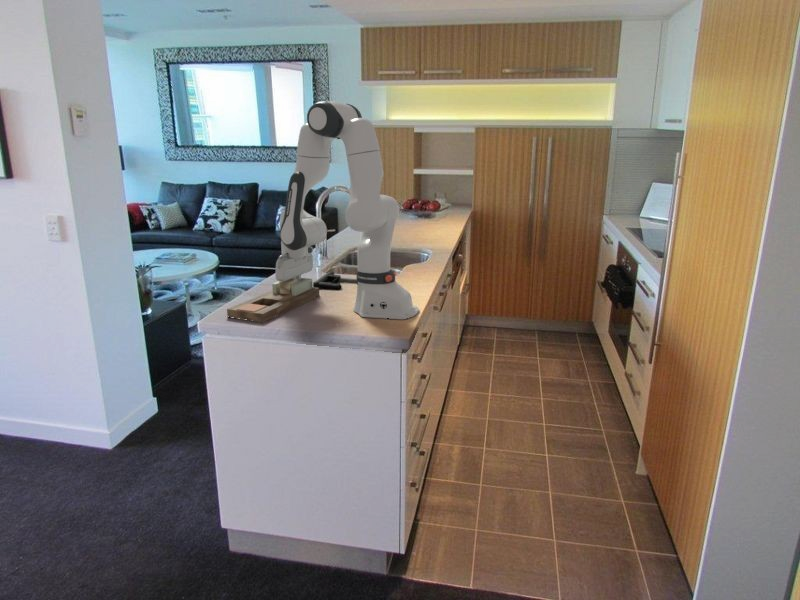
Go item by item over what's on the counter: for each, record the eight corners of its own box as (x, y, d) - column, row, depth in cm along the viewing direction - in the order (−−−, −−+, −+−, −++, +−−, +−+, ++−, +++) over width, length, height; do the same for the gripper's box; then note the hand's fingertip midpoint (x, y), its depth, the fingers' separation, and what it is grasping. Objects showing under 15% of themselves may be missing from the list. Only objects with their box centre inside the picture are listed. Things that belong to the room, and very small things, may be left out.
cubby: (312, 288, 218) (312, 278, 217) (295, 295, 207) (294, 286, 206) (290, 285, 221) (290, 276, 220) (272, 293, 211) (272, 283, 210)
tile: (267, 306, 194) (266, 305, 194) (254, 312, 188) (254, 311, 188) (249, 304, 196) (249, 303, 196) (236, 309, 190) (236, 308, 190)
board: (319, 295, 219) (319, 287, 218) (263, 322, 187) (262, 313, 186) (287, 291, 224) (287, 284, 223) (227, 317, 192) (226, 309, 191)
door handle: (362, 274, 244) (325, 270, 247) (348, 286, 225) (309, 281, 228) (361, 281, 245) (325, 277, 248) (348, 294, 226) (309, 289, 229)
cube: (297, 291, 213) (296, 279, 212) (290, 294, 209) (289, 282, 208) (286, 290, 214) (286, 278, 213) (279, 293, 210) (279, 281, 209)
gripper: (285, 257, 202) (287, 295, 205) (315, 247, 220) (316, 282, 224) (269, 255, 204) (272, 293, 208) (300, 245, 222) (302, 280, 226)
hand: (295, 287), depth 216 cm, fingers closed
